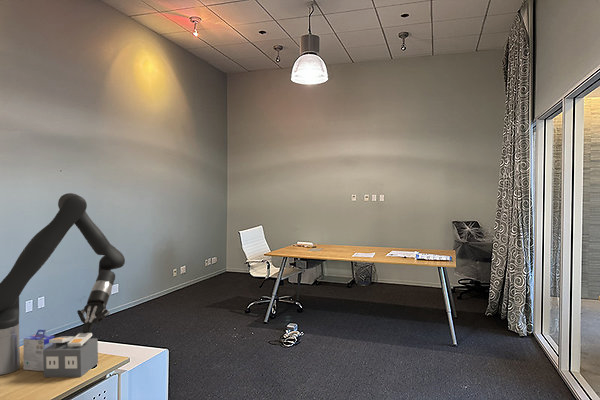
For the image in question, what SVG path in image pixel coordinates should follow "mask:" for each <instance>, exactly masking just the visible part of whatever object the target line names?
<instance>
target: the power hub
mask: <svg viewBox="0 0 600 400" xmlns="http://www.w3.org/2000/svg"><path fill="white" fill-rule="evenodd" d="M69 342H70V341H67V342H64V343H54V344H53V345H51V346H50V347H48V348H46V349H45V350H43V365H44V371H43V378H82V377H83V376H84V375H85V374H87V373H88V372H89V371H90V370H91V369H93V368H94V367H96V365H98V364H99V351H98V350H99V343H98V338H97V337H95V338H94V337H93V338H91V337H90V338H89V339H88V340H87V341H86V342H85V343H84V344H83V345H82V346H68V343H69Z"/></svg>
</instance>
